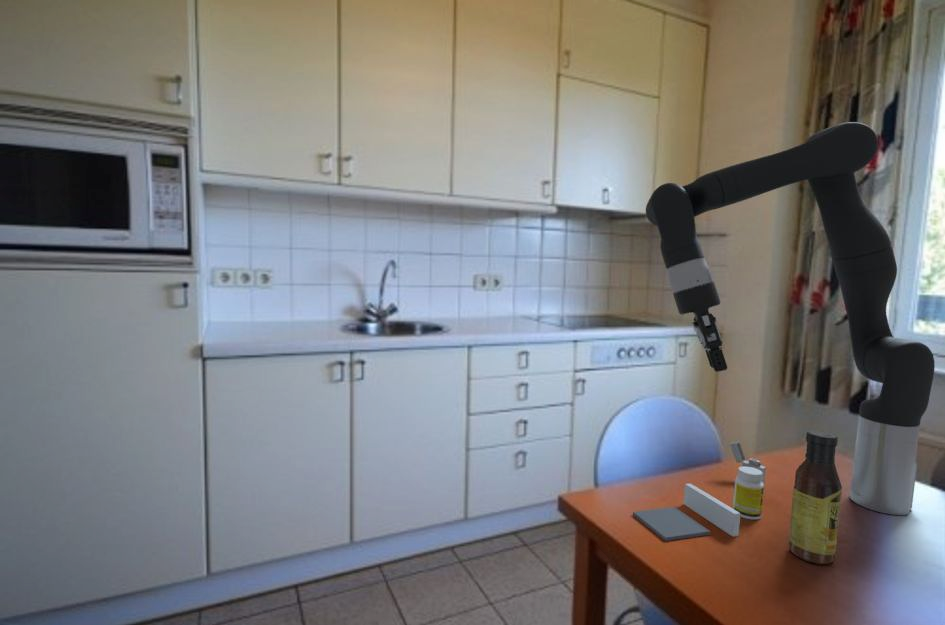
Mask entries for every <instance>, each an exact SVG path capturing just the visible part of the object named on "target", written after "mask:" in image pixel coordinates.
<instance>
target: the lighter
mask: <svg viewBox="0 0 945 625" xmlns="http://www.w3.org/2000/svg"><path fill="white" fill-rule="evenodd" d="M729 446H730V448H731V450H732V454H733V456H734V460H735V462H736V464H737V463H742V465H741V467H743V466H745V467H752V468H756V469H758V470H760V471H762V473H763V479H762V481H761V482H762V483H763V484H764V485H765V484H766V483H765V480H766V471H767V467H766V466H765V465H762V463H761V461H760V460H758V459H755V458H752V457H751V458H749V459H748V460H747V459H746V458H747V457H746V455H745V453H744V451H743V450H744V449H743V448H742V445H741V442H740V441H734V442H733V441H732V442H730V444H729Z"/></svg>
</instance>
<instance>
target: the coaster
mask: <svg viewBox="0 0 945 625" xmlns="http://www.w3.org/2000/svg"><path fill="white" fill-rule="evenodd" d="M632 516H633V517H634V518H636V519H637V520H638V521H640V522H641V523H642V524H643V525H645V526H646V527H647V528H649V529H650V530H651V531H652V532H654V534H656V535H657V536H658V537H660V538H661V539H662V540H663V541H665V542H667V541H668V542H669V541H674V540H675V541H676V540H682V539H688V538H695V537H701V536H710V535H711V530H709V529H708V528H706V527H705V526H703V525H702V524H701V523H700V522H698V521H696V520H695V519H694V518H692V517H691V516H689V515H687V514H686V513H684V512H683V511H682V510H680V509H678V508H677V507H676V506H668V507H667V506H666V507H661V508H653V509H646V510H639V511H633V512H632Z"/></svg>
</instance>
